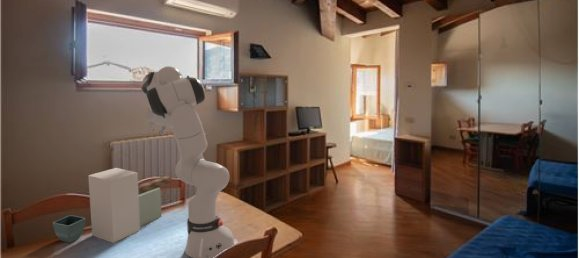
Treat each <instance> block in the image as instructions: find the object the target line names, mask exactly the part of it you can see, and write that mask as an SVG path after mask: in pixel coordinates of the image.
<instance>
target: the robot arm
mask: <svg viewBox="0 0 579 258" xmlns="http://www.w3.org/2000/svg"><path fill="white" fill-rule="evenodd" d="M140 89H141V91H142V92H143V93H144V94H145V95H146V96H145V101H146V105H147V107H148V109H147V111H146V114H145V116H144V117H145V118H144V119H145V121H147V122H149V124H148V127H149V128H148V132H150V133H153V132H154V131H155V129H154V126H155V125H159V126H161V129H160V130H159V132H158V134H159V135H162V136H163V135H164V133H165V132H166V130H167V129H168V128H170V129H171V128H172V133H173V136H174V138H175V139H174V140H175V142H176V145H177V149H178V151H179V160H178V161H177V163H176V165H175V168H174V174H175V176H176V178H177V179H178V180H180V181H181V182H183V183H184V184H187V185H192V186H195V187H196V193H195V194H194V195H193V196H192V197H190V198H189V200H188V202H187V206H188V208H187V209H188V211H187V212H188V213H187V215H188V218H187V220H186V222H187V223H186V231H187V240H186V245H185V249H184V253H185V254H186V256H188V257H190V258H213V257H215V256H216V255H217V254H219V253H220V252H222V251H223V250H225V249H227V248H229V247H231V246H232V245H234V244H236V243H239V241H238V240H237V238H235V237H234V235H233V232H232V231H231V229H229V227H227V226H225V225H224V223H223V221H222V219H221V217H220V216H219V215H218V214H217V215H216V213H217V212H216V211H217V209H216V208H217V200H218V196H219V194H220V192H221V191H222V190H223V189H225V188H227V186H228V183H229V182H230V171H229V170H228V169H227V168H226V166H224V165H221V164H220V163H217V162H213V161H208V160H206V159H205V158H204V154H203V153H205V152H206V150H207V148H208V140H207V136H206V134H205V133H206V132H205V130H204V127H203V123H202V121H201V118H200V116H199V114H198V112H197V110H196V108H195V107H194V106H195V105H199V104H202V103H203V102H204V101H205V99H206V90H205V85H203V83H202V82H201V81H200V80H199V79H198V78H195V77H190V76H189V75H186V77H183V75H182V73H181V71H180V70H179V69H178V68H176V67H174V66H171V65H170V66H167V65H166V66H164V67H162V68H161V69H159V70H158V71H151V72H150V73H148V74H146V75H145V76H144V77H143V79H142V81H141V88H140Z"/></svg>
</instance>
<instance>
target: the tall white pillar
mask: <svg viewBox="0 0 579 258" xmlns="http://www.w3.org/2000/svg"><path fill="white" fill-rule="evenodd" d="M138 173H139V172H136V171H133V170H128V169H123V168H119V167H114V168H110V169H106V170H104V171H99V172H96V173H92V174H89V175H87V178H88V190H89V191H88V194H89V207H90V220H91V221H90V222H91V235H92V236H93V237H96V238H98V239H101V240H104V241H107V242H110V243H112V244H114V243H117V242H118V241H121V240H123V239H125V238H127V237H129V236H131V235H133V234H135V233H137V232H140V231H141V226H140V218H139V194H138V185H139V174H138Z"/></svg>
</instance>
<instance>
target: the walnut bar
mask: <svg viewBox="0 0 579 258" xmlns="http://www.w3.org/2000/svg"><path fill="white" fill-rule="evenodd" d="M171 177H172V176H168V175H164V176H162V177H160V178H156V179H153V180H151V181H147V182H144V183H141V184H138V194H141V193H144V192H147V191H149V190H152V189H155V188H160V187H162V186H165V185H168V184H170V183H172V178H171Z"/></svg>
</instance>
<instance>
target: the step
mask: <svg viewBox="0 0 579 258" xmlns="http://www.w3.org/2000/svg"><path fill="white" fill-rule="evenodd" d="M161 193H162V192H161V188H160V187H157V188H155V189H152V190H149V191H147V192H144V193H141V194H139V218H140V227H143V226H145V225H146V224H148V223H151V222H152V221H155V220H157V219H159V218H161V217H162V199H161V198H162V194H161Z"/></svg>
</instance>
